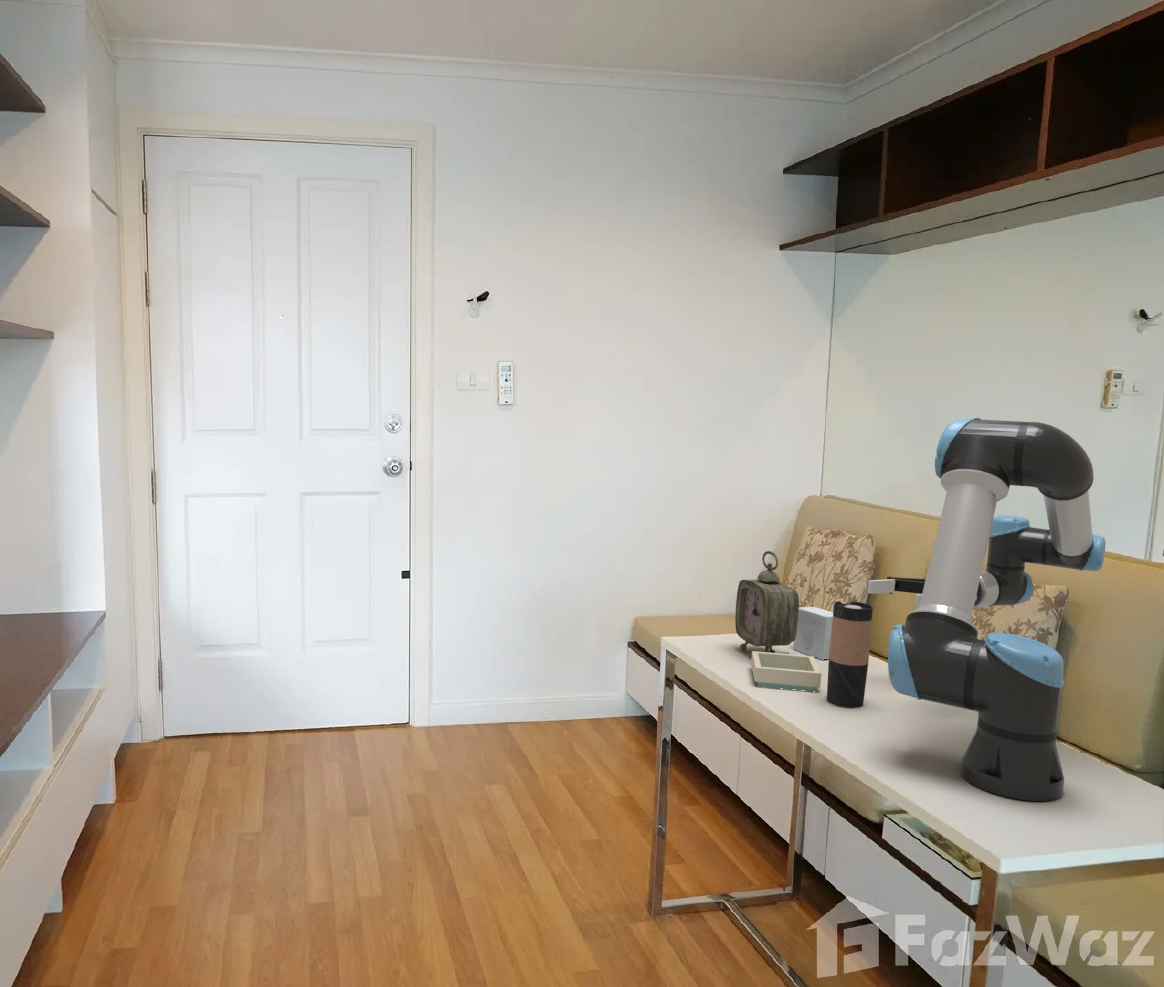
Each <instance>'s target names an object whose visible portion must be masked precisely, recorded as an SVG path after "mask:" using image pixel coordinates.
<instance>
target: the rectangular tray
mask: <svg viewBox="0 0 1164 987" xmlns="http://www.w3.org/2000/svg"><path fill="white" fill-rule="evenodd" d="M774 651H775V653H769V652H765V651H756V650H755V651H754V650H752V651H751V661H750V665H751V672H752V675H753V680H754V681H753V682H754V683H755V682H756V684H757V685H758V686H757V688H762V687H767V688H766V689H773V688H783V689H782V690H784V689H796V690H805V691H804V692H806V691H815V692H814V693H817V691H818V690H817V689H818V688H821V681H822V672H821V670H820V667H819V665H818V663H817V661H816V659H815V657H813V656H810V655H803V654H802V655H801V654H790V652H788V651H787V652H786V651H776V650H774Z"/></svg>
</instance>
